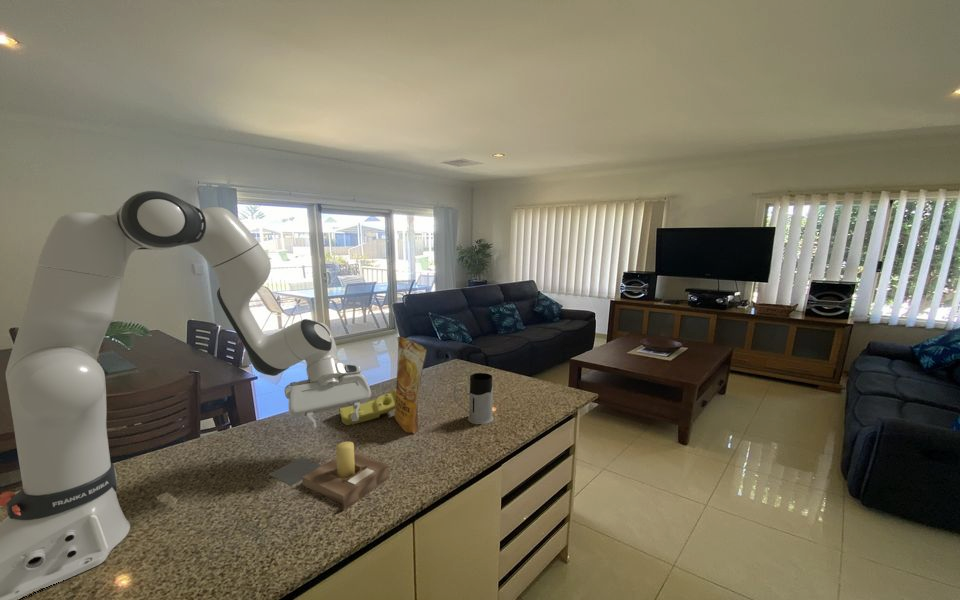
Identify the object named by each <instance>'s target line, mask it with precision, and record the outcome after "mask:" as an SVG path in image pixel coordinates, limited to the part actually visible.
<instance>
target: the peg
mask: <svg viewBox="0 0 960 600" xmlns="http://www.w3.org/2000/svg"><path fill="white" fill-rule="evenodd" d="M335 451H336V457H337V477H339V478H341V479H344V478H350V477H351V476H353V475H354V474H356V473H355V462H354V452H355V444H354V442H353V441H341V442H340V443H338V444H337V445H336V449H335Z"/></svg>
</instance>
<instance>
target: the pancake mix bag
mask: <svg viewBox="0 0 960 600" xmlns="http://www.w3.org/2000/svg"><path fill="white" fill-rule="evenodd" d="M396 338H397V364H396V365H397V367H396V369H397V371H396V385H395V386H396V387H395V389H396V399H395V408H394V419H395V420H394V421H396V423H397V422H398V423H397V424H398V425H399V427H401V429H402V430H403V431H404V432H405V433H407V434H409V433H412V434H414V435H415V434H416V433H417V432H418V431H419V421H418V420H419V416H418V411H419V410H418V409H419V403H418V400H419V399H418V397H419V391H420V385H421V381H422V374H423V370H424V367H425V366H424V365H425V362H426V358H427V348H426V347H425V346H423V345H422V344H419V343H418V342H415V341H413V340H411V339H409V338H406V337H404V336H401V335H400V336H398V337H396Z"/></svg>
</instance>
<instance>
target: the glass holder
mask: <svg viewBox="0 0 960 600" xmlns="http://www.w3.org/2000/svg"><path fill="white" fill-rule="evenodd" d="M460 385H462V386H464V390H465V391H464V393H465V394H466V395H468V396H469V399H468V400H469V403H468V404H469V407H468V409H469V410H468V409H466V408H464V406H462V405H461V404H460V403H459V401H458V400H457V397H456V390H457V387H458V386H460ZM493 387H494V386H493V375H491V374H489V373H485V372H477V373H472V374H470V376H469V390H468V389H467V385H466V384H465V383H463V382H459V383H457V384H455V386H454V388H453V397H454V400H455V402H456V404H457V405H458V407H460V408H461V409H462V410H464V411H465V412H467V413H468V417H467V420H468V422H469V423H471V424H473V425H478V424H484V425H488V423H489V424H491V423H493V422H494V416H493V391H494V390H493ZM467 390H468V391H469V393H468V391H467ZM490 422H491V423H490Z"/></svg>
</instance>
